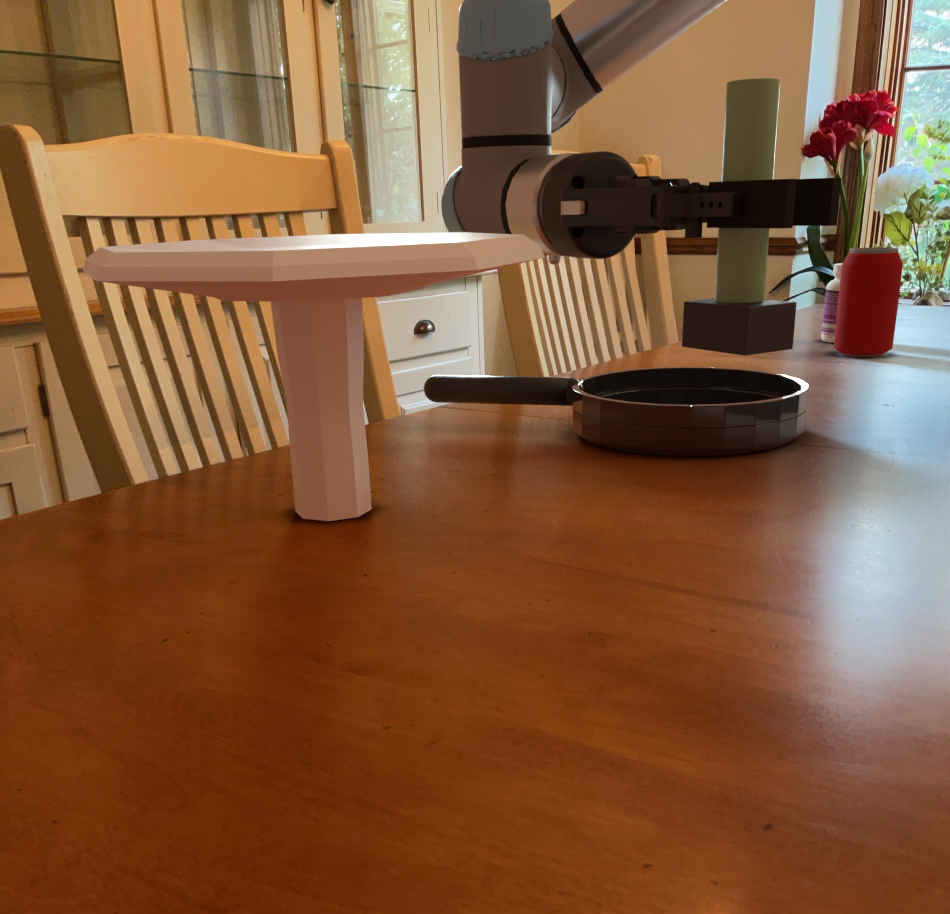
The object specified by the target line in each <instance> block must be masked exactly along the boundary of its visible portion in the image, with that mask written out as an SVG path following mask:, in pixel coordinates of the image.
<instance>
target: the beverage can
mask: <svg viewBox="0 0 950 914" xmlns="http://www.w3.org/2000/svg"><path fill="white" fill-rule="evenodd" d="M841 263H842V269H841V278H840V287H839V297H838V307H837V317H836V328H835V339H834V343H833V348H834V350H836V351H837V352H838V353H840V355H841V356H845V357H852V358H877V357H882V356H884V355H885V354H886V353H888V352H890V351H891V350H892V349H893V346H894V340H895V334H896V333H895V331H896V324H897V318H898V309H899V302H900V301H899V300H900V293H901V292H900V291H901V285H902V275H903V266H904V263H903V260H902V257H901V255H900V253H899V248H898V247H882V246H881V247H853V248H849V252H848V254H847V255H846V257H845V258H844V260H843V262H841Z"/></svg>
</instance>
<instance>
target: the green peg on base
mask: <svg viewBox="0 0 950 914" xmlns="http://www.w3.org/2000/svg"><path fill="white" fill-rule="evenodd" d="M725 91H726V93H725V107H724V108H725V111H724V126H723V127H724V128H723V141H722V142H723V144H722V161H721V179H720V180H721V181H720V182H723V181H748V180H773V179H774V174H775V162H776V161H775V159H776V145H777V132H778V119H779V105H780V92H781V79H779V78H774V77H772V78H771V77H769V78H768V77H766V78H765V77H763V78H762V77H760V78H759V77H758V78H745V79H735V80H730V81H728V82H727V83H726V90H725ZM770 229H771V228H718V233H717V234H718V235H717V252H716V265H715V266H716V269H715V285H714V297H713V298H705V299H696V300H695V299H693V300H685V301H684V302H683V310H682V311H683V312H682V332H681V338H682V339H681V347H682V348H687V349H688V348H689V349H695V350H703V351H710V352H717V353H724V354H729V355H731V354H732V355H739V356H745V357H746V356H751V355H753V356H754V355H759V354H760V355H761V354H768V353H774V352H781V351H788V350H793V348H794V339H795V327H796V315H797V302H796V301H788V300H778V299H777V300H776V299H765V295H766V282H767V281H766V280H767V267H768V265H767V264H768V255H769V240H770Z"/></svg>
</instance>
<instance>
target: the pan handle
mask: <svg viewBox="0 0 950 914" xmlns="http://www.w3.org/2000/svg"><path fill="white" fill-rule="evenodd" d="M578 380H579V379H577V378H575V377H572V376H571V377H570V376H529V375H527V376H525V375H524V376H521V375H518V376H517V375H471V374H469V375H468V374H467V375H465V374H463V375H462V374H433V375H431V376H429V377H428V378H427V379H426V380H425V382H424V385H423V392H424V396H425V397H426V398H427V399H428V400H429V401H430V402H433V403H442V404H443V403H444V404H483V405H484V404H485V405H523V406H528V405H529V406H559V407H560V406H562V407H563V406H564V407H571V385H572V384H575V383H579V382H580V381H578ZM580 390H581V391H583V386H582V384H581V385H580Z"/></svg>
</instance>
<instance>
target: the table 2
mask: <svg viewBox="0 0 950 914" xmlns="http://www.w3.org/2000/svg"><path fill="white" fill-rule="evenodd" d="M545 258H546V257H545V256H544V254H543V252H542V249H541V247H540V246H539V245H538V244H536V243H535V242H533V241H532V240H531V239H529V238H528V237H526V236H525V235H518V234H495V233H472V232H448V231H446V232H445V231H444V232H440V231H439V232H390V233H389V232H388V233H387V232H386V233H385V232H383V233H336V234H335V233H333V234H332V233H331V234H309V235H308V234H307V235H286V236H262V237H261V236H259V237H235V238H234V237H232V238H211V239H210V238H209V239H207V238H206V239H193V240H190V239H189V240H178V241H164V242H163V241H162V242H152V243H150V242H149V243H137V244H136V243H135V244H123V245H111V246H110V245H109V246H100V247H98V248H97V249H96V250H95V251H94V252H92V253H91V254H89V256H88V257H86V258H85V260H84V263H83V268H82V272H83V273H84V274H85V275H87V276H88V277H89V278H91V279H92V280H94V281H95V282H99V283H108V284H113V285H121V286H127V287H128V286H129V287H137V288H144V289H150V290H158V291H166V292H172V293H178V294H179V293H180V294H185V295H186V294H187V295H195V296H201V297H209V298H214V299H216V300H219V301H222V302H263V303H265V302H266V303H267V302H270V310H271V314H272V315H271V316H272V325H273V331H274V339H275V345H276V353H277V354H276V355H277V359H278V364H279V369H280V376H281V381H282V382H281V383H282V387H283V392H284V398H285V403H286V411H287V425H288V426H287V427H288V442H289V456H290V457H289V459H290V468H291V469H290V470H291V480H292V488H293V490H292V491H293V498H294V499H293V500H294V510H295V513H297V515H298V516H299V517H300V518H301V519H303V520H312V521H313V520H314V521H322V522H332V521H339V520H347V519H354V518H359V517H361V516H362V515H364V514H366V513H368V512H369V511H371V510H373V507H372V493H371V479H370V478H371V476H370V463H369V462H370V460H369V451H368V441H367V440H368V439H367V432H366V422H365V421H366V420H365V411H364V375H365V373H364V371H365V369H364V368H365V367H364V365H365V363H364V362H365V343H364V342H365V340H364V309H363V305H364V304H363V299H367V298H382V297H390V296H395V295H399V294H404V293H409V292H415V291H419V290H422V289H425V288H427V287H430V286H432V285H435V284H440V283H444V282H448V281H452V280H457V279H461V278H465V277H469V276H474V275H477V274H478V275H479V274H482V273H485V272H490V271H495V270H499V269H503V268H508V267H511V266H516V265H519V264H525V263H528V262H533V261H537V260H541V259H545Z"/></svg>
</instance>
